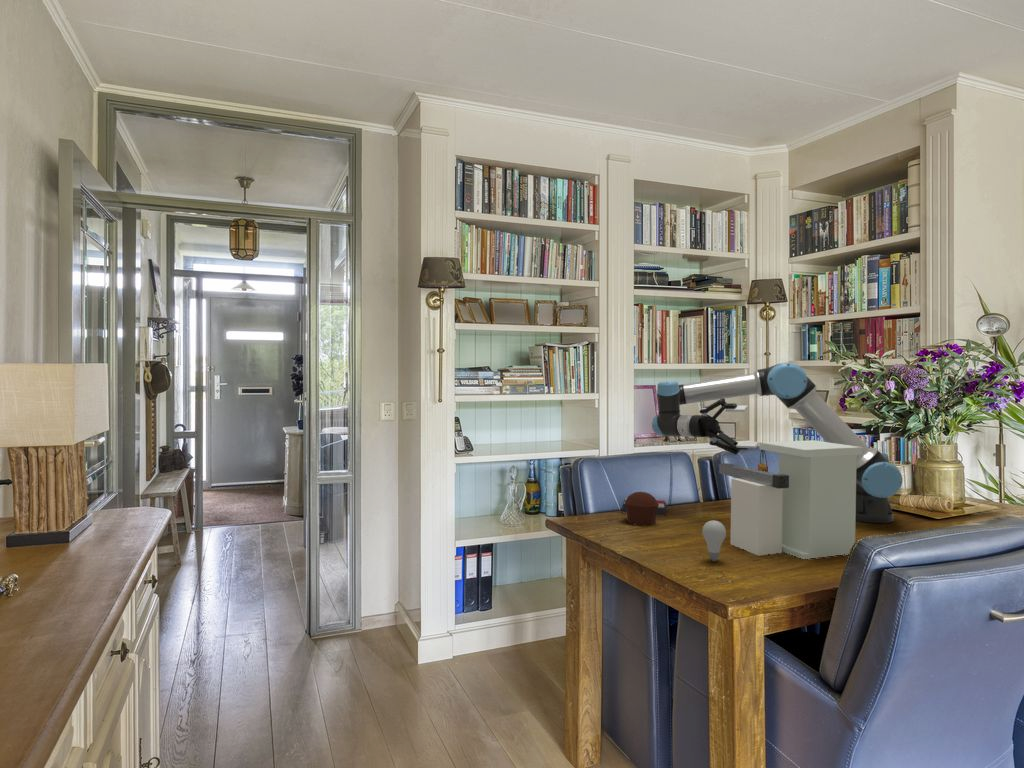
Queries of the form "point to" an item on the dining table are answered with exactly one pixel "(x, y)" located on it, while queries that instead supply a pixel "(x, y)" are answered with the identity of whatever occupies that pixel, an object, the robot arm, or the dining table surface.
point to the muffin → (641, 508)
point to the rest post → (756, 517)
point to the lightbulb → (714, 538)
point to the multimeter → (762, 466)
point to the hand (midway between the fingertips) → (751, 427)
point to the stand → (817, 497)
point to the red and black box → (660, 509)
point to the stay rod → (755, 475)
